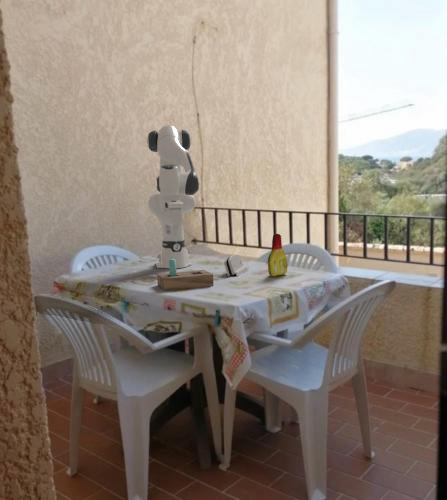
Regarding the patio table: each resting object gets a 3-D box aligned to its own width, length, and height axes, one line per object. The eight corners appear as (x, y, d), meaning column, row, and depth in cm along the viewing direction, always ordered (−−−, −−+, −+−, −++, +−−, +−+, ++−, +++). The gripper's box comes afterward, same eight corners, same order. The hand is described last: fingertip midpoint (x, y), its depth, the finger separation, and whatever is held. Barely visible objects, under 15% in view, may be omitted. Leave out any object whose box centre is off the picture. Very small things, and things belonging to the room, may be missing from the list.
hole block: (157, 285, 229) (157, 274, 228) (204, 280, 237) (204, 269, 236) (164, 290, 218) (164, 279, 217) (213, 285, 226) (213, 274, 225)
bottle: (273, 278, 238) (273, 235, 236) (263, 276, 243) (263, 234, 240) (290, 274, 246) (290, 233, 243) (280, 272, 251) (280, 232, 248)
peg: (169, 286, 226) (168, 259, 224) (175, 285, 227) (174, 258, 225) (171, 287, 223) (170, 260, 222) (177, 286, 224) (176, 259, 223)
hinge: (237, 276, 244) (230, 256, 244) (228, 279, 246) (221, 259, 246) (247, 270, 260) (241, 251, 260) (239, 272, 262) (232, 254, 261)
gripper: (157, 202, 228) (158, 233, 230) (169, 204, 209) (170, 238, 211) (170, 201, 230) (171, 232, 233) (184, 204, 212) (185, 237, 214)
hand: (171, 235), depth 222 cm, fingers open, 8 cm apart
